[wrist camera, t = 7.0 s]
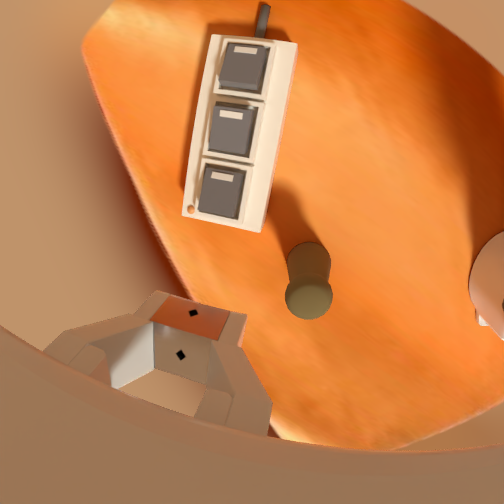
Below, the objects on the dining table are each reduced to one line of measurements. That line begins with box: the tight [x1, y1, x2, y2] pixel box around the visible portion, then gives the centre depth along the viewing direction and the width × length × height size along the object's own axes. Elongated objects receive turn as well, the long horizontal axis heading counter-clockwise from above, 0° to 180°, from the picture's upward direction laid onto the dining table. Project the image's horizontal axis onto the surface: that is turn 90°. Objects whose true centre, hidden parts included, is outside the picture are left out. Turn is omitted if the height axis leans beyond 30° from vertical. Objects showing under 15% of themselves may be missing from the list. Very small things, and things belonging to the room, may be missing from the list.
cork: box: [285, 242, 333, 319], centre depth 36 cm, size 6×6×11 cm
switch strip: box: [182, 5, 298, 233], centre depth 33 cm, size 10×29×6 cm, turn 169°
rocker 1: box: [218, 44, 267, 90], centre depth 28 cm, size 4×5×2 cm
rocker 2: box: [209, 105, 254, 154], centre depth 31 cm, size 4×5×2 cm
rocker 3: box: [197, 167, 244, 217], centre depth 34 cm, size 4×5×2 cm
